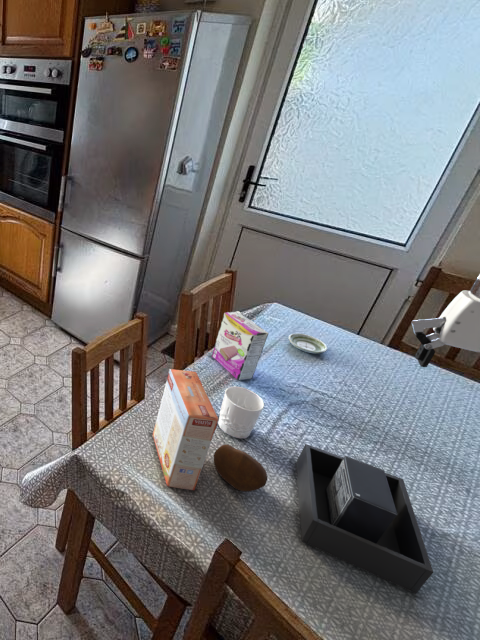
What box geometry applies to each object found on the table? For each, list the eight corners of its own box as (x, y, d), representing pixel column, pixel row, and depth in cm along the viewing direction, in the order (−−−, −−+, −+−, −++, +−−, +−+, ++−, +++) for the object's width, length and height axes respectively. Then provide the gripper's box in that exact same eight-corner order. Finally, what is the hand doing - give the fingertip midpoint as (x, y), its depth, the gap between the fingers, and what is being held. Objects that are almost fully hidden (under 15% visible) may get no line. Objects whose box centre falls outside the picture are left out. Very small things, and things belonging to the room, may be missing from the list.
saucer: (319, 343, 131) (322, 337, 130) (329, 361, 123) (332, 355, 122) (283, 336, 135) (285, 329, 134) (290, 353, 127) (292, 347, 126)
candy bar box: (209, 357, 126) (223, 311, 119) (224, 355, 126) (238, 310, 119) (237, 382, 116) (253, 334, 109) (252, 380, 116) (270, 332, 109)
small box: (375, 552, 75) (400, 516, 70) (330, 532, 78) (351, 496, 74) (364, 504, 83) (386, 469, 78) (323, 488, 86) (342, 453, 82)
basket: (388, 501, 84) (403, 479, 81) (414, 595, 69) (433, 572, 67) (295, 465, 92) (305, 443, 89) (300, 542, 77) (312, 519, 74)
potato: (215, 456, 94) (224, 431, 91) (265, 485, 88) (276, 459, 84) (203, 476, 90) (212, 451, 86) (254, 508, 83) (266, 482, 80)
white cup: (258, 444, 97) (270, 412, 93) (221, 439, 98) (232, 408, 94) (243, 418, 104) (255, 388, 100) (210, 414, 105) (220, 384, 101)
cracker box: (196, 492, 87) (221, 419, 78) (165, 487, 88) (186, 415, 79) (178, 438, 99) (197, 370, 90) (151, 434, 100) (168, 367, 91)
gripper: (571, 298, 69) (515, 377, 76) (428, 273, 78) (390, 346, 85) (599, 319, 63) (535, 402, 71) (441, 290, 72) (399, 367, 79)
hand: (456, 372), depth 78 cm, fingers open, 9 cm apart
